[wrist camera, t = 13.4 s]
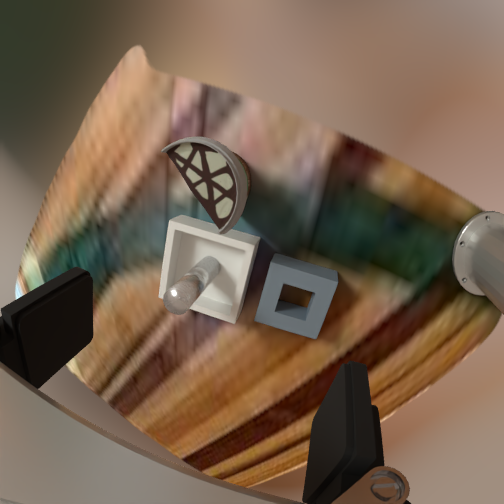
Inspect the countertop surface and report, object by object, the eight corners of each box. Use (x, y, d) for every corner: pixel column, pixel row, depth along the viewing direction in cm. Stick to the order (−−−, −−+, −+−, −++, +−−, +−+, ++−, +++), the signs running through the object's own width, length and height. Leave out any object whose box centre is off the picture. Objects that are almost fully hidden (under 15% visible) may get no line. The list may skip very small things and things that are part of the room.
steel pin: (222, 259, 46) (190, 294, 35) (218, 279, 47) (186, 318, 36) (201, 253, 46) (164, 285, 35) (198, 273, 48) (161, 309, 36)
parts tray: (260, 237, 45) (254, 245, 41) (241, 311, 49) (234, 323, 45) (181, 214, 46) (169, 220, 43) (169, 286, 50) (158, 297, 47)
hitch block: (337, 271, 44) (338, 282, 40) (317, 325, 47) (316, 339, 43) (275, 252, 45) (270, 261, 41) (259, 307, 48) (254, 320, 44)
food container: (278, 195, 43) (266, 207, 33) (241, 220, 45) (219, 238, 35) (226, 121, 41) (199, 113, 32) (192, 147, 43) (158, 147, 34)
